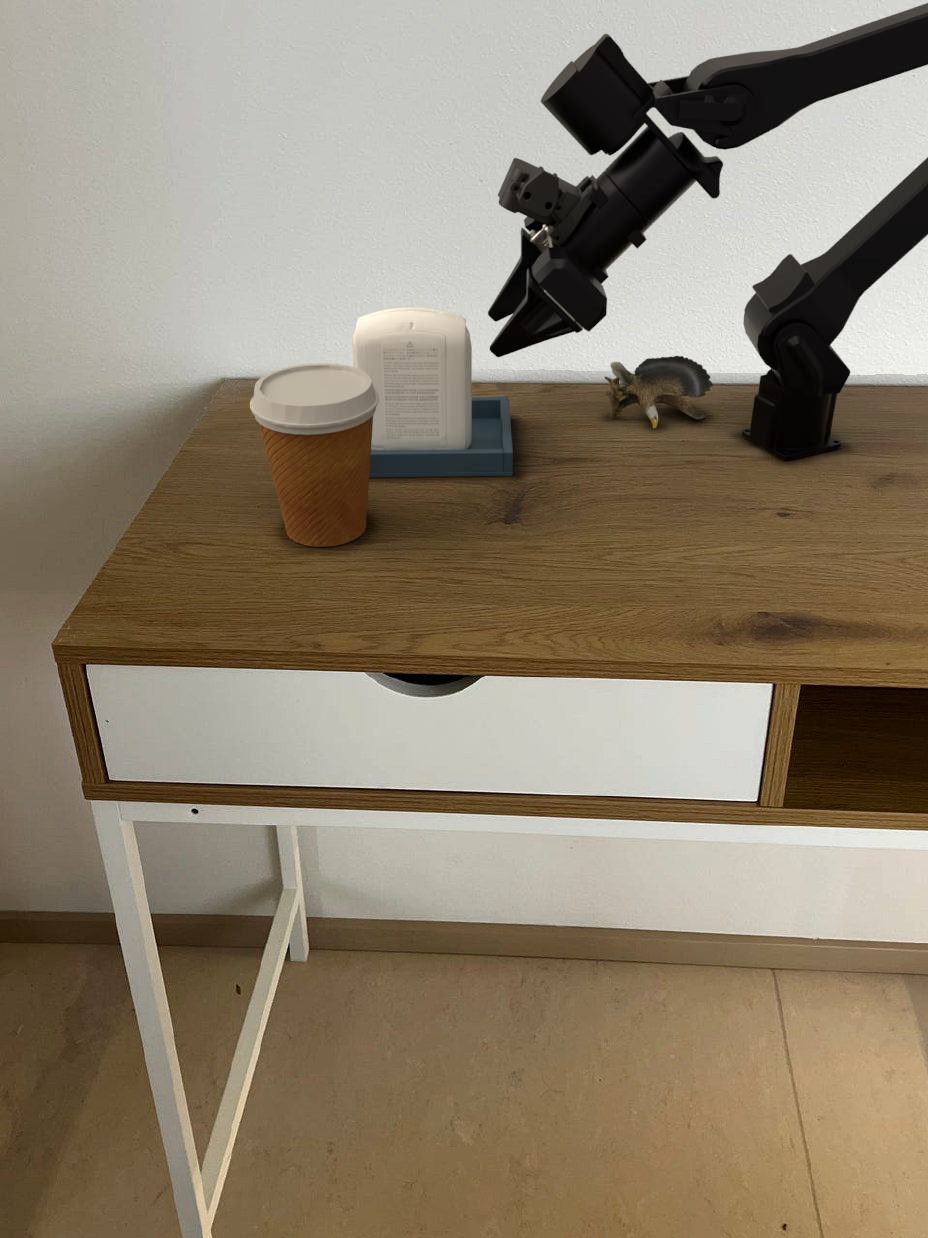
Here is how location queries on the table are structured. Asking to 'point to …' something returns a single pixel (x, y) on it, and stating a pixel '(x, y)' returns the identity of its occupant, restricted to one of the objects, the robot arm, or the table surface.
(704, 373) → the eagle figurine
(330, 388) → the disposable coffee cup
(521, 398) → the table surface
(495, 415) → the tray
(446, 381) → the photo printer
